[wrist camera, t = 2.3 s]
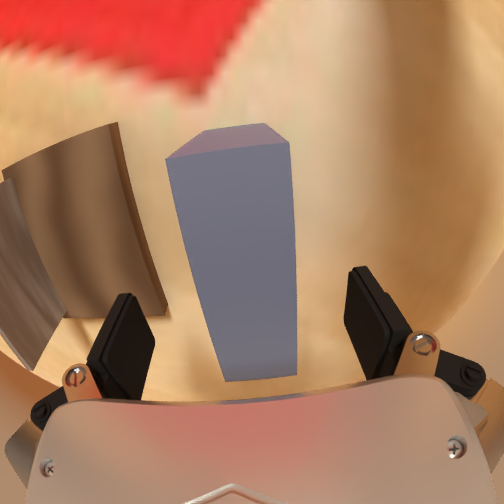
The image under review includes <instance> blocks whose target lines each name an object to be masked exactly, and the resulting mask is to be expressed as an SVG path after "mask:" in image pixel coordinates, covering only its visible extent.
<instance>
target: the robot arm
mask: <svg viewBox="0 0 504 504" xmlns="http://www.w3.org/2000/svg"><path fill="white" fill-rule="evenodd" d="M344 324H345V327H346V329H347V332H348V334H349V337H350V339H351V342H352V344H353V347H354V349H355V351H356V354H357V356H358V359H359V362H360V364H361V367H362V369H363V372H364V374H365V377H366V380H367V381H362V382H358V383H353V384H348V385H343V386H338V387H332V388H327V389H322V390H316V391H310V392H304V393H297V394H290V395H282V396H274V397H265V398H254V399H242V400H227V401H199V402H168V401H142V400H141V397H142V393H143V389H144V385H145V381H146V377H147V373H148V369H149V365H150V361H151V358H152V354H153V350H154V347H155V338H154V336H153V334H152V332H151V329H150V327H149V325H148V323H147V321H146V318H145V316H144V314H143V311H142V309H141V307H140V304H139V302H138V300H137V298H136V296H133V294H132V293H121V294H118V296H117V298H116V300H115V302H114V303H113V305H112V307H111V309H110V311H109V313H108V315H107V317H106V319H105V321H104V323H103V325H102V327H101V329H100V331H99V333H98V336H97V338H96V340H95V342H94V344H93V346H92V348H91V351H90V353H89V355H88V357H87V363H86V365H85V364H81V363H80V364H75V365H73V366H71V367H70V368H68V369H67V370H66V371H65V373H64V375H63V378H62V383H63V386H62V387H60V388H59V389H57V390H56V391H54V392H53V393H51V394H49V395H48V396H46V397H45V398H43V399H42V400H40V401H38V402H37V403H36V404H35V405H34V406H33V408H32V410H31V420H30V421H29V420H28V419H27V420H26V421H25V422H24V423H23V424H22V425H21V427H20V428H19V429H18V430H17V431H16V432H15V433H14V434H13V435H12V436H11V438H10V439H9V440H8V441H7V443H6V445H5V454H6V457H7V458H8V460H9V462H10V463H11V465H12V467H13V468H14V470H15V472H16V473H17V475H18V476H19V478H20V479H21V481H22V482H23V484H24V485H25V486H26V488H27V495H26V503H25V504H498V502H497V497H496V493H495V489H494V485H493V481H492V477H491V473H492V472H493V470H494V468H495V467H496V465H497V463H498V462H499V460H500V458H501V456H502V455H503V453H504V387H503V386H501V385H500V384H498V383H497V382H496V381H494V380H493V379H490V380H487V379H486V374H485V371H484V369H483V368H482V366H480V365H479V364H478V363H475V362H474V361H471V360H468V359H465V358H463V357H459V356H457V355H454V354H451V353H449V352H446V351H443V350H440V343H439V340H438V339H437V338H436V336H434V335H433V334H432V333H430V332H427V331H415V332H413V331H412V329H411V328H410V326H409V324H408V323H407V321H406V320H405V318H404V316H403V315H402V313H401V312H400V310H399V309H398V307H397V306H396V304H395V303H394V301H393V300H392V298H391V297H390V295H389V294H388V293H386V292H384V291H383V289H382V288H381V286H380V285H379V283H378V282H377V280H376V279H375V277H374V276H373V275H372V273H371V272H370V270H369V269H368V267H367V266H360V267H354V268H353V269H352V271H350V272H349V275H348V285H347V295H346V303H345V312H344Z"/></svg>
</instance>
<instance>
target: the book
mask: <svg viewBox="0 0 504 504" xmlns="http://www.w3.org/2000/svg"><path fill="white" fill-rule="evenodd" d="M165 160H166V165H167V170H168V175H169V180H170V185H171V189H172V194H173V198H174V203H175V207H176V212H177V216H178V220H179V224H180V229H181V233H182V237H183V241H184V245H185V249H186V253H187V257H188V260H189V264H190V268H191V272H192V275H193V279H194V283H195V286H196V290H197V293H198V297H199V300H200V304H201V307H202V310H203V314H204V317H205V320H206V324H207V327H208V330H209V333H210V337H211V340H212V343H213V346H214V349H215V352H216V355H217V358H218V361H219V364H220V367H221V370H222V373H223V376H224V379H225V382H232V381H246V380H258V379H268V378H277V377H285V376H293V375H297V285H296V250H295V226H294V206H293V189H292V173H291V159H290V146H289V142H288V141H287V140H285V139H284V138H283V137H282V136H280V135H279V134H278V133H277V132H275V131H274V130H273V129H272V128H270V127H269V126H268V125H266V124H265V123H259V124H250V125H241V126H233V127H226V128H219V129H212V130H206V131H203V132H202V133H200V134H199V135H197V136H196V137H195V138H193V139H192V140H190V141H189V142H188V143H186V144H185V145H184V146H182V147H181V148H179V149H178V150H177V151H175V152H174V153H173V154H172V155H170V156H169V157H168V158H166V159H165Z"/></svg>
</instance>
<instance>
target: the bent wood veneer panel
mask: <svg viewBox="0 0 504 504" xmlns="http://www.w3.org/2000/svg"><path fill="white" fill-rule="evenodd" d="M2 174H3V177H4V182H2V183H0V334H1V336H2V337H3V339H4V340H5V341H6V343H7V344H8V346H9V347H10V348H11V350H12V351H13V352H14V353H15V355H16V356H17V357H18V359H19V360H20V361H21V362H22V364H23V365H24V366H25V367H26V368H27V370H31V371H33V370H34V368H35V366H36V364H37V362H38V360H39V359H40V357H41V355H42V353H43V351H44V349H45V347H46V346H47V344H48V342H49V340H50V338H51V337H52V335H53V333H54V331H55V330H56V328H57V326H58V325H59V323H60V321H61V320H62V318H106V317H107V315H108V313H109V311H110V309H111V307H112V305H113V303H114V302H115V300H116V298H117V296H118V294H121V293H132V294H133V296H136V298H137V300H138V302H139V304H140V307H141V309H142V311H143V314H144V316H163V315H165V312H166V309H167V306H168V303H167V300H166V298H165V295H164V292H163V289H162V287H161V284H160V281H159V278H158V275H157V272H156V269H155V266H154V263H153V260H152V257H151V254H150V251H149V248H148V244H147V241H146V238H145V235H144V231H143V228H142V224H141V221H140V217H139V214H138V210H137V207H136V203H135V199H134V195H133V191H132V187H131V183H130V179H129V175H128V171H127V166H126V162H125V157H124V153H123V148H122V143H121V138H120V133H119V128H118V122H116V123H111V124H108V125H104V126H101V127H99V128H96V129H93V130H90V131H87V132H84V133H82V134H79V135H76V136H74V137H71V138H69V139H66V140H64V141H61V142H59V143H57V144H54V145H52V146H50V147H47V148H45V149H43V150H41V151H39V152H37V153H34V154H32V155H30V156H28V157H26V158H24V159H22V160H20V161H18V162H16V163H15V164H13V165H11V166H9V167H7V168H5V169H3V170H2Z"/></svg>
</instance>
